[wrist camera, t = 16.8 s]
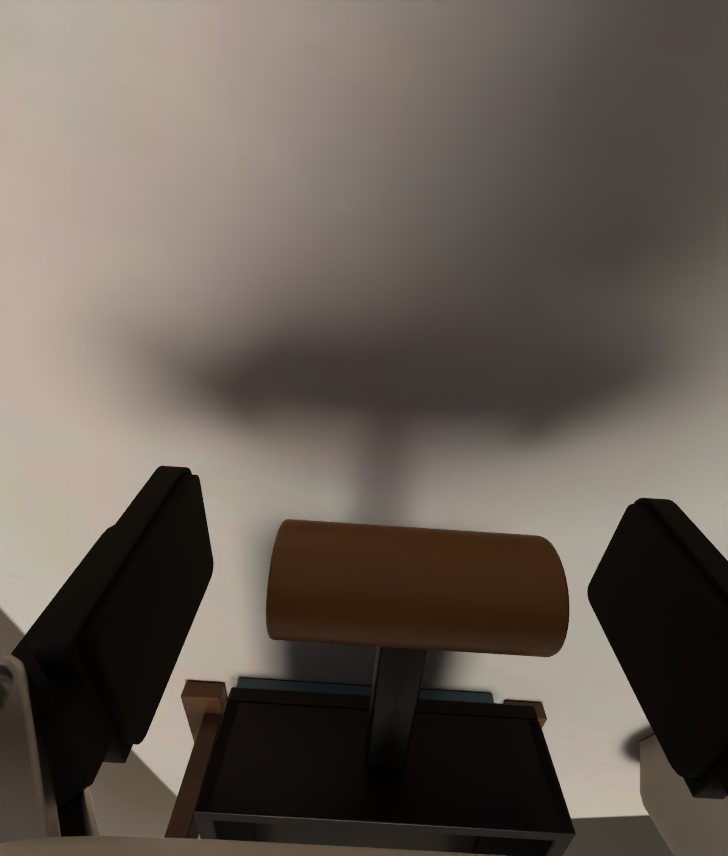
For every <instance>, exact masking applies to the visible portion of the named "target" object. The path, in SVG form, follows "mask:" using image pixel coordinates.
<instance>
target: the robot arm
mask: <svg viewBox="0 0 728 856" xmlns="http://www.w3.org/2000/svg"><path fill="white" fill-rule="evenodd" d="M212 572H213V556H212V550H211V544H210V538H209V532H208V526H207V521H206V515H205V509H204V503H203V497H202V491H201V485H200V480H199V477H198V475H192V473H191V470H190V469H189V468H187V467H172V466H160V467H158V468H157V469H156V471H155V472H154V473H153V475H152V476H151V477H150V479H149V480H148V481H147V483H146V484H145V485H144V487H143V488H142V489H141V491H140V492H139V493H138V495H137V496H136V497H135V499H134V500H133V501H132V503H131V504H130V505H129V507H128V508H127V509H126V511H125V512H124V513H123V515H122V516H121V517H120V519H119V520H118V521H117V523H116V524H115V525H113V526H111V527H109V528H108V529H107V530H106V531H105V532H104V533H103V534H102V535H101V537H100V538H99V539H98V540H97V542H96V543H95V544H94V546H93V547H92V548H91V550H90V551H89V552H88V554H87V555H86V556H85V557H84V559H83V560H82V561H81V563H80V564H79V565H78V567H77V568H76V569H75V571H74V572H73V573H72V574H71V576H70V577H69V578H68V580H67V581H66V582H65V584H64V585H63V586H62V588H61V589H60V590H59V591H58V593H57V594H56V595H55V597H54V598H53V599H52V601H51V602H50V603H49V605H48V606H47V607H46V609H45V610H44V611H43V612H42V614H41V615H40V616H39V618H38V619H37V620H36V622H35V623H34V624H33V626H32V627H31V628H30V629H29V631H28V632H27V633H26V635H25V636H24V638H23V639H22V640H21V641H20V643H19V644H18V645H17V646H16V648H15V649H14V650H13V652H12V653H11V654H4V653H0V856H506V855H489V854H472V853H455V852H437V851H420V850H403V849H386V848H367V847H349V846H330V845H311V844H293V843H274V842H255V841H237V840H218V839H190V838H158V837H128V836H127V837H126V836H99V832H98V827H97V822H96V818H95V813H94V809H93V803H92V798H91V794H90V789H89V786H90V785H91V784H93V782H94V779H95V777H96V775H97V773H98V771H99V769H100V766H101V764H102V762H112V763H125V762H126V760H127V757H128V755H129V753H130V750H131V748H132V746H133V744H140V743H141V742H142V741H143V739H144V738H145V736H146V734H147V732H148V729H149V727H150V725H151V722H152V720H153V717H154V715H155V712H156V710H157V708H158V705H159V703H160V700H161V698H162V695H163V693H164V691H165V688H166V686H167V683H168V681H169V678H170V676H171V674H172V671H173V669H174V666H175V664H176V661H177V659H178V657H179V654H180V652H181V649H182V647H183V645H184V642H185V640H186V637H187V635H188V632H189V630H190V628H191V625H192V623H193V620H194V618H195V615H196V613H197V611H198V608H199V606H200V603H201V601H202V598H203V596H204V594H205V591H206V589H207V586H208V584H209V581H210V579H211V576H212ZM588 599H589V602H590V604H591V606H592V608H593V610H594V612H595V614H596V616H597V618H598V620H599V622H600V624H601V626H602V628H603V631H604V633H605V635H606V637H607V639H608V641H609V643H610V645H611V647H612V649H613V651H614V653H615V655H616V657H617V659H618V661H619V663H620V665H621V667H622V669H623V671H624V673H625V675H626V677H627V679H628V681H629V683H630V685H631V687H632V689H633V691H634V693H635V695H636V697H637V699H638V701H639V703H640V705H641V707H642V709H643V711H644V713H645V715H646V717H647V719H648V721H649V723H650V725H651V727H652V729H653V731H654V733H655V735H656V737H657V739H658V742H659V744H660V746H661V748H662V750H663V752H664V754H665V756H666V758H667V760H668V762H669V764H670V765H671V767H672V769H673V770H674V771H675V772H676V773H677V774H678V775H679V776H681V777H683V779H684V781H685V783H686V785H687V787H688V789H689V791H690V793H691V795H692V797H693V798H708V799H724V798H725V797H727V796H728V561H727V560H726V559H725V558H724V556H723V555H722V554H721V553H720V552H719V551H718V550H717V549H716V548H715V546H714V545H713V544H712V543H711V542H710V541H709V540H708V539H707V538H706V537H705V535H704V534H703V533H702V532H701V531H700V530H699V529H698V528H697V527H696V525H695V524H694V523H693V522H692V521H691V520H690V519H689V518H688V517H687V516H686V514H685V513H684V512H683V511H682V510H681V509H680V508H679V507H678V506H677V504H675V503H674V502H673V501H671V500H667V499H652V498H639V499H638V500H636V501H635V503H634V504H631V505H629V506H628V507H627V509H626V511H625V513H624V515H623V517H622V519H621V521H620V523H619V525H618V527H617V529H616V531H615V533H614V535H613V537H612V539H611V541H610V543H609V545H608V547H607V549H606V551H605V553H604V555H603V557H602V559H601V561H600V563H599V565H598V567H597V569H596V571H595V573H594V575H593V577H592V579H591V581H590V583H589V586H588Z"/></svg>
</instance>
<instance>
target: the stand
mask: <svg viewBox="0 0 728 856" xmlns="http://www.w3.org/2000/svg"><path fill="white" fill-rule="evenodd" d="M181 699H182V702H183V706H184V709H185V712H186V716H187V719H188V723H189V726H190V730H191V733H192V736H193V740H194V747H193V750H192V753H191V756H190V759H189V762H188V765H187V768H186V771H185V775H184V778H183V781H182V784H181V787H180V790H179V793H178V796H177V800H176V803H175V806H174V809H173V812H172V815H171V818H170V821H169V825H168V828H167V831H166V834H165V837H164V838H190V839H198V835H199V830H198V825H197V821H196V817H195V812H194V810H195V807H196V803H197V800H198V797H199V793H200V790H201V787H202V784H203V780H204V777H205V774H206V770H207V767H208V764H209V760H210V757H211V754H212V750H213V747H214V744H215V740H216V737H217V734H218V731H219V727H220V724H221V721H222V717H223V714H224V711H225V707H226V704H227V697H226V692H225V687H224V684H223V683H207V682H191V681H187V682H186V684H185V687H184V689H183V692H182V695H181ZM504 704H513V705H530V706H534V707H535V710H536V713H537V716H538V721H539V722H540V725H541V728H542V727H543V725H544V723H545V722H546V720H547V717H546V714H545V711H544V708H543V705H542V703H530V702H514V701H505V703H504Z"/></svg>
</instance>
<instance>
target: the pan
mask: <svg viewBox="0 0 728 856" xmlns="http://www.w3.org/2000/svg"><path fill="white" fill-rule="evenodd" d="M568 623H569V595H568V587H567V581H566V576H565V572H564V569H563V565H562V563H561V560H560V557H559V555H558V553H557V551H556V550H555V548H554V546H553V545H552V544H551V543H550V542H549V541H548V540H547V539H545V538H543V537H541V536H536V535H521V534H505V533H490V532H475V531H459V530H444V529H429V528H414V527H398V526H383V525H368V524H352V523H337V522H322V521H307V520H291V519H287V520H284V521H283V522H282V524H281V526H280V528H279V530H278V533H277V536H276V540H275V543H274V548H273V552H272V558H271V563H270V570H269V577H268V586H267V598H266V626H267V632H268V635H269V637H270V638H271V639H273V640H284V641H300V642H315V643H331V644H347V645H363V646H377V647H376V656H375V664H374V673H373V681H372V690H371V696H367V695H351V694H335V693H319V692H303V691H286V690H270V689H254V688H238V687H232V688H231V691H230V694H229V697H228V702H227V704H226V707H225V711H224V714H223V717H222V721H221V724H220V727H219V731H218V734H217V737H216V740H215V744H214V747H213V750H212V754H211V757H210V760H209V764H208V767H207V770H206V774H205V777H204V780H203V784H202V787H201V790H200V793H199V797H198V800H197V803H196V807H195V810H194V812H195V817H196V821H197V825H198V830H199V834H200V838H201V839H218V840H237V841H255V842H274V843H293V844H311V845H330V846H349V847H367V848H386V849H403V850H420V851H437V852H455V853H472V854H489V855H506V856H563V854H564V852H565V851H566V849H567V847H568V846H569V844H570V842H571V841H572V839H573V838H574V836H575V830H574V827H573V824H572V821H571V818H570V815H569V812H568V808H567V805H566V802H565V799H564V796H563V793H562V790H561V787H560V784H559V781H558V778H557V775H556V772H555V768H554V765H553V762H552V759H551V756H550V753H549V750H548V747H547V744H546V741H545V738H544V735H543V731H542V728H541V725H540V722H539V721H538V716H537V713H536V710H535V707H534V706H530V705H513V704H497V703H481V702H465V701H449V700H432V699H418V698H419V693H420V688H421V683H422V678H423V673H424V668H425V663H426V658H427V653H428V650H443V651H459V652H475V653H491V654H507V655H522V656H538V657H550V656H553V655H555V654H556V653H558V652H559V650H560V649H561V648H562V646H563V644H564V641H565V638H566V634H567V630H568Z"/></svg>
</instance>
